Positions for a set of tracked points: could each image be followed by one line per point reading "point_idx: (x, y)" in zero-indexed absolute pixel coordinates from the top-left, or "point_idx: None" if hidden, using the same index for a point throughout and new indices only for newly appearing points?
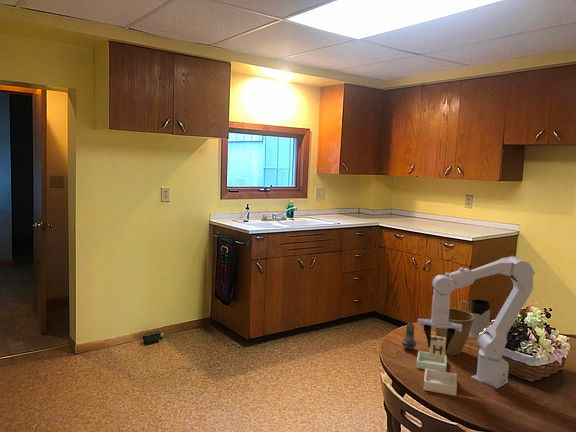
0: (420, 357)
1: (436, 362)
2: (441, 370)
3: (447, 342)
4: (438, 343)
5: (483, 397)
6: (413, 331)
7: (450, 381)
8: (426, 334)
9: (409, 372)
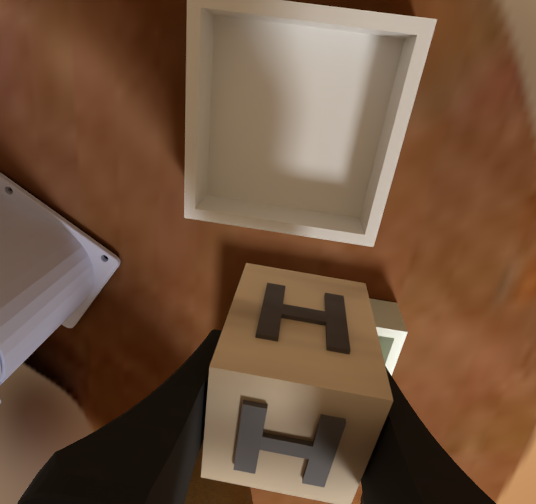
0: None
1: None
2: None
3: (190, 378)
4: (295, 363)
5: (49, 35)
6: None
7: (226, 181)
8: (467, 484)
9: (447, 258)
